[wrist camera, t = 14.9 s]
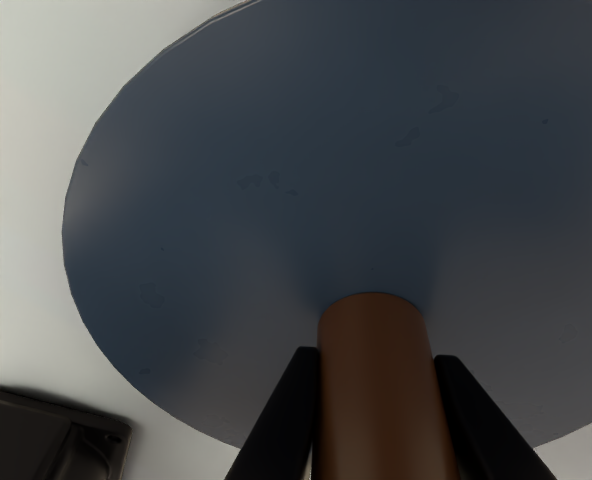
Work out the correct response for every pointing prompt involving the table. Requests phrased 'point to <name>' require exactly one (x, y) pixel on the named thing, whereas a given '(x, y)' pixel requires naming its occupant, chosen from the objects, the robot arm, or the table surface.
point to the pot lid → (349, 221)
